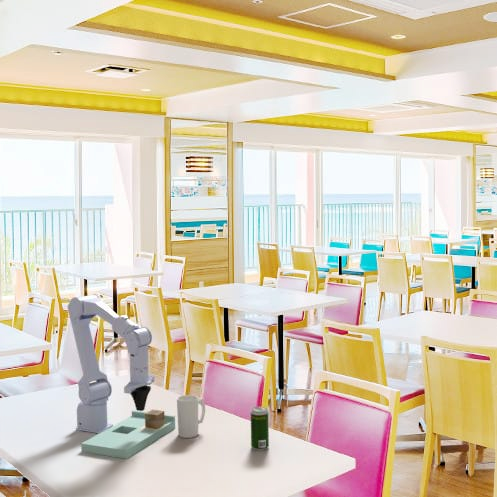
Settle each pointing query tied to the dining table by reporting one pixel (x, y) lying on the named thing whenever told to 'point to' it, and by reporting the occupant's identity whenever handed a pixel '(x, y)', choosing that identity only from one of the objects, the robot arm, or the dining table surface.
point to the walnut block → (154, 419)
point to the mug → (189, 415)
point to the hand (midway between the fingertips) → (140, 410)
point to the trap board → (127, 436)
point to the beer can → (259, 428)
